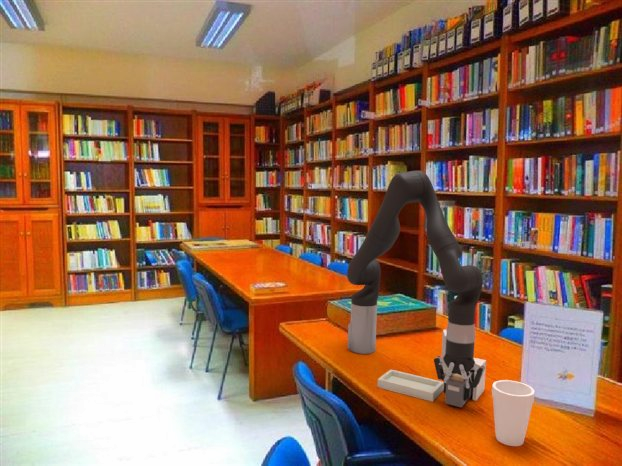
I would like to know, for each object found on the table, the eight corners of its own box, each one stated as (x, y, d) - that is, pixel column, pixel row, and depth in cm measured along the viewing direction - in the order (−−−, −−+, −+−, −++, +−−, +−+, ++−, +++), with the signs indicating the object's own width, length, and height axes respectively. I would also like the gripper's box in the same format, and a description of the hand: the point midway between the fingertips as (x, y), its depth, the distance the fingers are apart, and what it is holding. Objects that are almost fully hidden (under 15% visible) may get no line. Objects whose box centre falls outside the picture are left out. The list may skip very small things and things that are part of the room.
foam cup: (526, 454, 118) (530, 399, 116) (485, 442, 123) (488, 390, 121) (533, 436, 126) (537, 385, 124) (494, 426, 131) (497, 377, 129)
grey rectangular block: (444, 404, 141) (445, 381, 140) (459, 387, 153) (460, 365, 152) (460, 408, 139) (462, 385, 138) (474, 391, 150) (475, 369, 149)
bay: (448, 393, 149) (449, 363, 148) (457, 383, 157) (459, 354, 156) (476, 400, 145) (478, 369, 144) (484, 390, 153) (486, 360, 152)
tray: (377, 387, 153) (377, 379, 153) (390, 377, 161) (390, 369, 161) (432, 401, 144) (433, 393, 144) (443, 390, 152) (443, 382, 152)
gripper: (430, 336, 141) (427, 395, 143) (483, 346, 134) (479, 409, 136) (439, 329, 148) (436, 386, 150) (490, 339, 140) (486, 399, 142)
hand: (456, 397), depth 143 cm, fingers closed on grey rectangular block, 4 cm apart
